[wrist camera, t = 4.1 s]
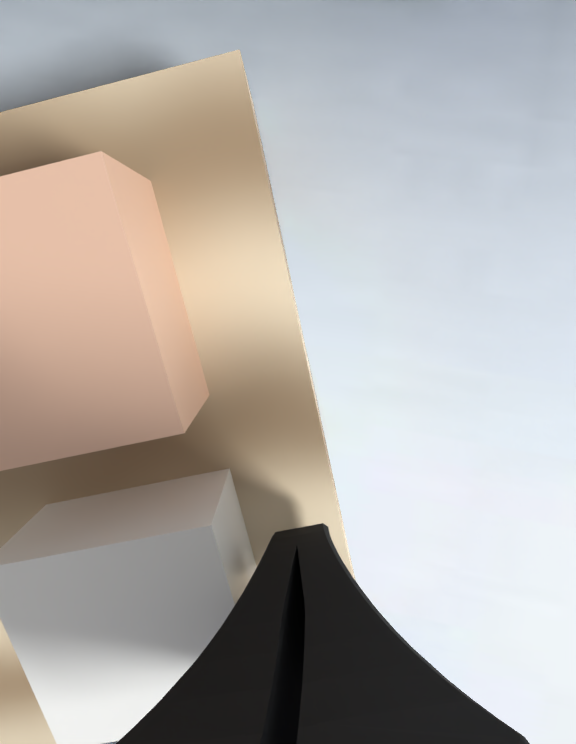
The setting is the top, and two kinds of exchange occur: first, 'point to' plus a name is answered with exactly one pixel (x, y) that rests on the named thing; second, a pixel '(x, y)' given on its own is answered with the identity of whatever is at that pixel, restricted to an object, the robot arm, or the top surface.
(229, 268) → the board
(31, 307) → the tile terracotta
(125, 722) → the tile white
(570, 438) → the top surface
